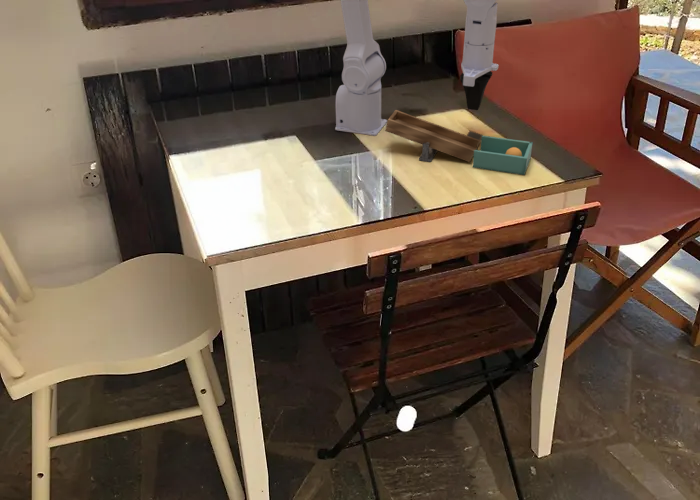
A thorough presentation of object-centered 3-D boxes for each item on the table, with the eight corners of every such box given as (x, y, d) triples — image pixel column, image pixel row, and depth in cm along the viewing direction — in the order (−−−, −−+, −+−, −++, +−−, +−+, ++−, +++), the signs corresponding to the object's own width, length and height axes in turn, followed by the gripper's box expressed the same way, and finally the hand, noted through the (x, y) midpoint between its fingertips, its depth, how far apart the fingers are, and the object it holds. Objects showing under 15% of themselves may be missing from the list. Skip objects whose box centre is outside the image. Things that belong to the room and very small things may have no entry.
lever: (384, 131, 144) (387, 120, 142) (401, 110, 153) (404, 99, 151) (469, 163, 141) (473, 151, 139) (481, 139, 150) (485, 128, 148)
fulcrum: (418, 160, 143) (419, 143, 141) (430, 143, 150) (430, 127, 148) (430, 162, 142) (431, 145, 140) (441, 144, 149) (442, 128, 147)
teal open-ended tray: (472, 167, 140) (474, 151, 138) (480, 151, 146) (482, 135, 144) (524, 175, 137) (526, 158, 135) (530, 158, 143) (532, 142, 141)
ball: (516, 149, 137) (523, 163, 138) (519, 142, 140) (526, 156, 141) (501, 154, 139) (508, 168, 140) (504, 148, 142) (511, 161, 143)
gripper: (492, 55, 130) (485, 125, 138) (507, 31, 141) (500, 97, 149) (454, 51, 132) (449, 120, 140) (471, 28, 143) (466, 93, 151)
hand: (473, 108), depth 144 cm, fingers closed
